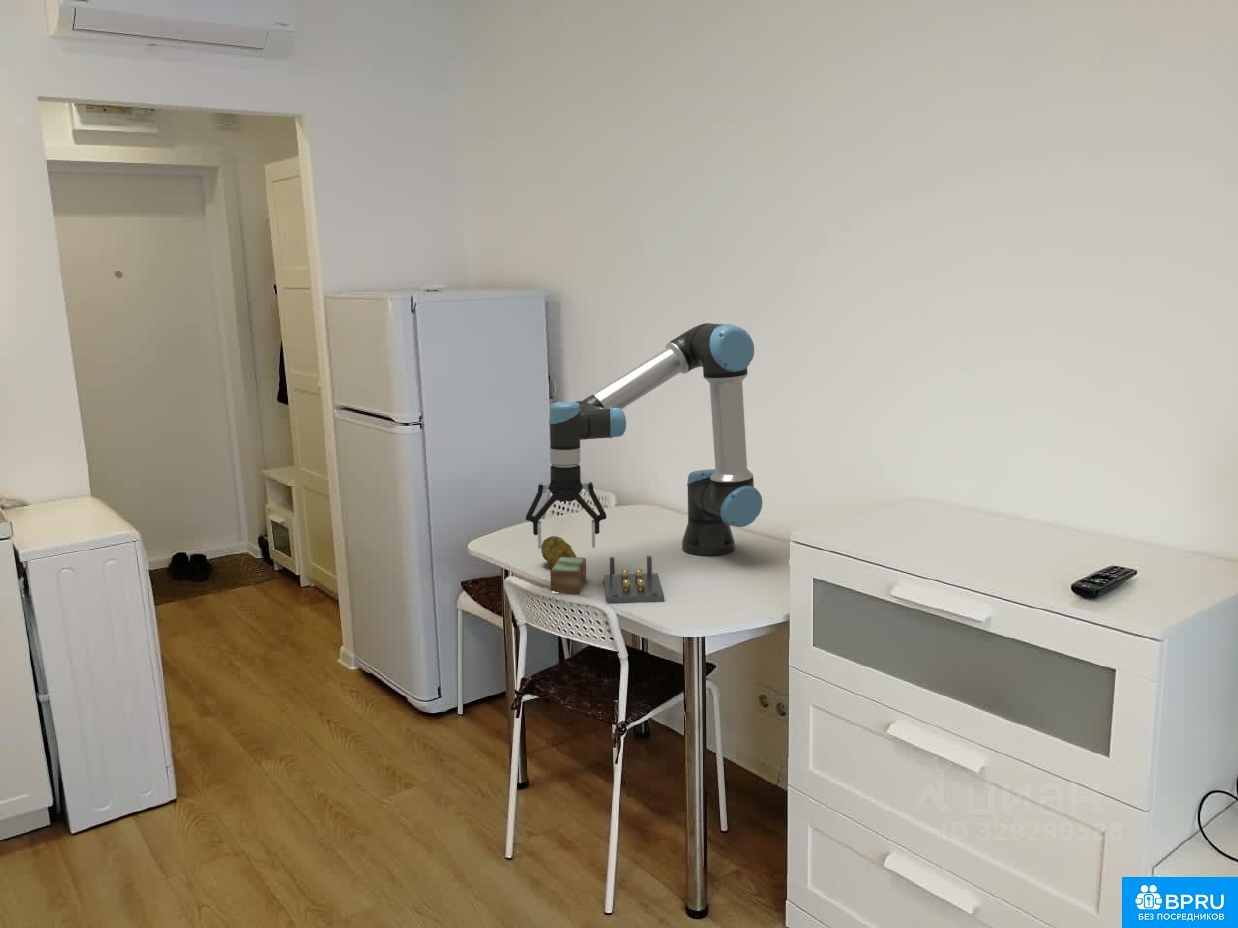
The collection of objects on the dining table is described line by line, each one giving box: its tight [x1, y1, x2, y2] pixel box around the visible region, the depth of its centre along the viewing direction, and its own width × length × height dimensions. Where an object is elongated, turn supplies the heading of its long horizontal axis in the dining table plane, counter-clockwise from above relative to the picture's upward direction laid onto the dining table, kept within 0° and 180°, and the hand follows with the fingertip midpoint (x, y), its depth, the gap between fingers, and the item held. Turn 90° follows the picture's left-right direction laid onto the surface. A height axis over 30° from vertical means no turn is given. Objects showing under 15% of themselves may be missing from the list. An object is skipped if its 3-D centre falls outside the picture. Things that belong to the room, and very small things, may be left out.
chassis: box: [603, 555, 665, 604], centre depth 245 cm, size 18×14×6 cm
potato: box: [540, 535, 577, 568], centre depth 265 cm, size 8×13×8 cm, turn 16°
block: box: [549, 556, 588, 595], centre depth 249 cm, size 12×7×6 cm, turn 173°
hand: (566, 546), depth 247 cm, fingers open, 13 cm apart
